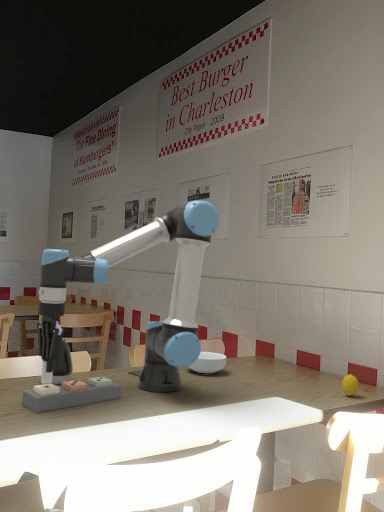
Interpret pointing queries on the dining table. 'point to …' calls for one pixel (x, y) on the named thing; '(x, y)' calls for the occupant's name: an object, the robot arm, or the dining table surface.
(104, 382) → the button two sage
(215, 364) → the cereal bowl
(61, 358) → the black egg-shaped speaker
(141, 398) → the dining table surface
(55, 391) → the button one cream
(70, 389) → the button three terracotta
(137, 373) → the smartphone
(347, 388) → the lemon
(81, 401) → the button panel
